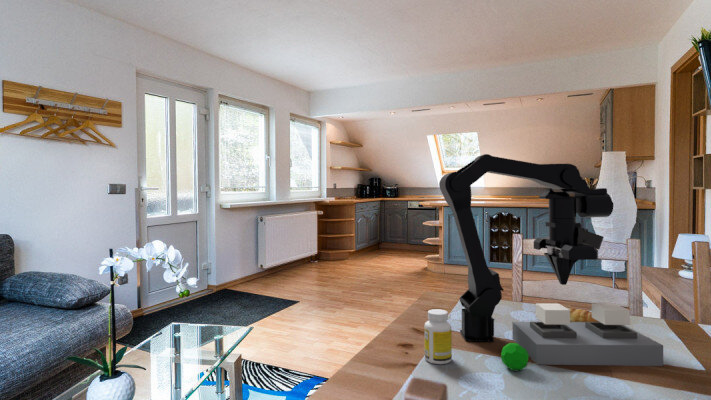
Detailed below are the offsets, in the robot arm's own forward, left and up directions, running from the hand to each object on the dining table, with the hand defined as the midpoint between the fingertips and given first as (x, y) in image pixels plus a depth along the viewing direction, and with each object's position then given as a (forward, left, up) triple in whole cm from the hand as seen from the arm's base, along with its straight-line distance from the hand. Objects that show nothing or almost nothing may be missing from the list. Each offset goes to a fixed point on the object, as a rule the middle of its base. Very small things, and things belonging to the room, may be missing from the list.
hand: (563, 284), depth 94 cm
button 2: (+6, -9, -6) cm, 12 cm away
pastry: (+10, +9, -13) cm, 19 cm away
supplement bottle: (-31, -14, -13) cm, 37 cm away
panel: (0, -9, -12) cm, 15 cm away
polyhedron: (-17, -18, -13) cm, 28 cm away
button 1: (-6, -9, -6) cm, 12 cm away
